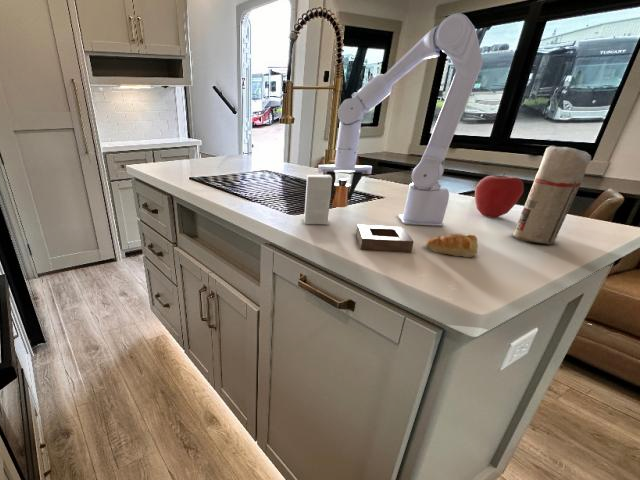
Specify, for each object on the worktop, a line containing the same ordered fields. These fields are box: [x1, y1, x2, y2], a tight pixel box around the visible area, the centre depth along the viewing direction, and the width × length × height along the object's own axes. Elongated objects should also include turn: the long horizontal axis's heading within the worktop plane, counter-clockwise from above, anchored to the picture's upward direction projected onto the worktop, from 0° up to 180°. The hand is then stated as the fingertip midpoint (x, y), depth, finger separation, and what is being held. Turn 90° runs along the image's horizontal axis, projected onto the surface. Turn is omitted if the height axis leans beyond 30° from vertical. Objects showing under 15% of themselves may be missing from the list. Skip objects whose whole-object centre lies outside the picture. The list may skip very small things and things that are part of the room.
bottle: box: [331, 178, 350, 208], centre depth 104 cm, size 4×4×8 cm
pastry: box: [425, 233, 479, 258], centre depth 76 cm, size 9×7×4 cm
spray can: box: [512, 145, 592, 245], centre depth 79 cm, size 8×8×20 cm
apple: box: [474, 172, 525, 218], centre depth 99 cm, size 11×11×12 cm
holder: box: [355, 224, 415, 253], centre depth 81 cm, size 10×10×2 cm
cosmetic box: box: [303, 174, 332, 225], centre depth 93 cm, size 6×4×12 cm
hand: (340, 198), depth 105 cm, fingers closed on bottle, 4 cm apart
